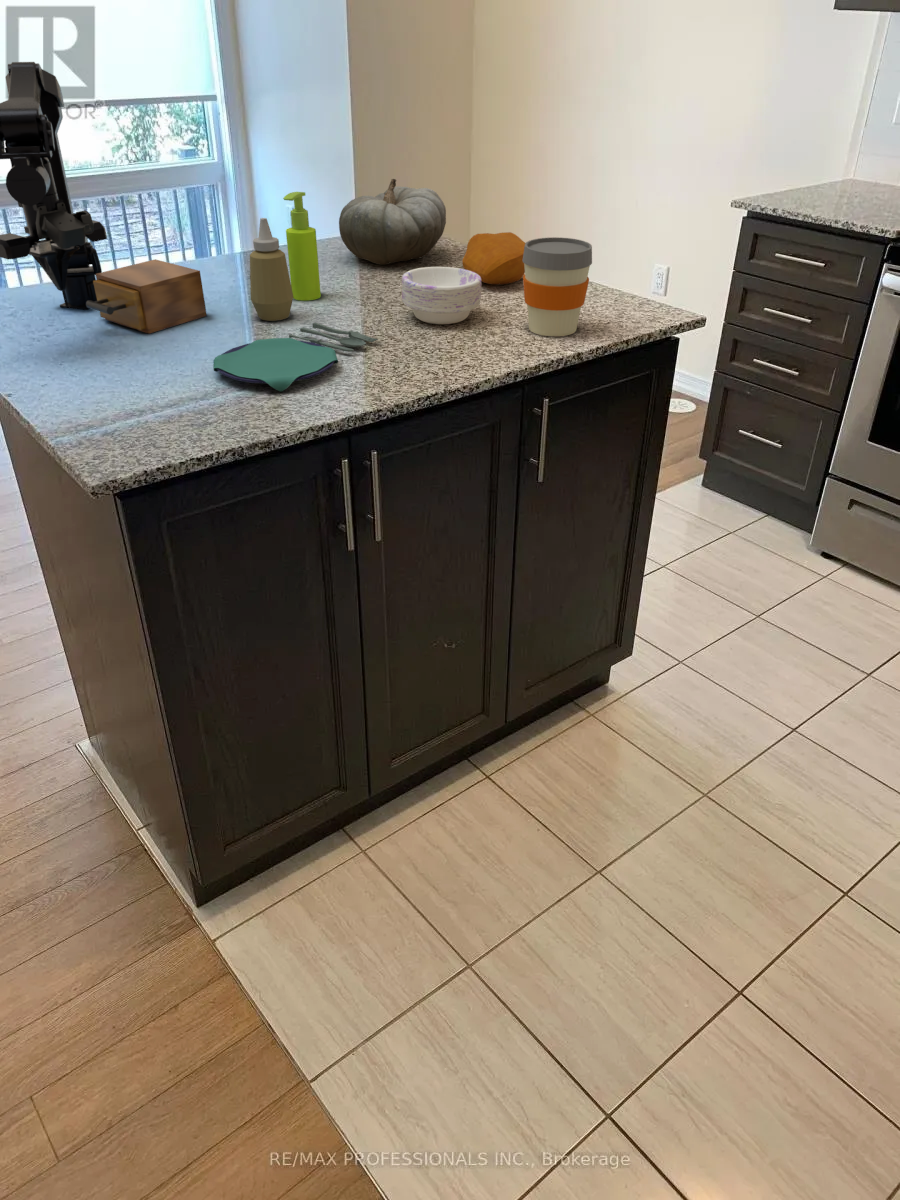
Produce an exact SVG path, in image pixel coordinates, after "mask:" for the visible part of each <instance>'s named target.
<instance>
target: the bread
mask: <svg viewBox="0 0 900 1200" xmlns="http://www.w3.org/2000/svg"><path fill="white" fill-rule="evenodd" d="M525 243H526V241H524V240H523V239H521V238H520V237H519V236H518V235H517V234H515V233H513V232H511V231H508V232H498V233H489V232H487V233H486V232H485V233H477V234H474V235H473V236H471V238H469V240H468V242H467V246H466V249H465V254H464V256H463V258H462V260H461V262H462V268H463V269H465V270H469V271H472V272H475V273H476V274H478V275H479V276H480V277H481V283H485V284H487V285H493V286H495V285H499V286H500V285H507V284H512V283H514V282H515V283H516V282H518V281H520V280H522V279H523V276H524V275H525V267H524V263H523V261H522V260H523V254H524V247H525Z"/></svg>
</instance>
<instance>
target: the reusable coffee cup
mask: <svg viewBox="0 0 900 1200" xmlns="http://www.w3.org/2000/svg"><path fill="white" fill-rule="evenodd" d="M522 261H523V263H524V267H525V273H524V275H523V277H522V284H523V297H524V303H525V304H526V308H527V322H528V323H527V324H528V330H529V332H531V333H533V334H535V335H538V336H544V337H564V336H565V337H566V336H570V335H572V334H575V333H576V331H577V328H578V324H579V319H580V315H581V314H580V313H581V309H582V306H584V304H585V302H586V297H587V293H588V292H587V291H588V287H589V284H590V283H589V282H590V278H589V271H590V266H592V264H593V245H592V244H591V243H590V242H587V241H585V240H582V239H577V238H571V237H558V236H556V237H554V236H553V237H540V238H534V239H531V240H528V241H525V247H524V254H523V260H522Z"/></svg>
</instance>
